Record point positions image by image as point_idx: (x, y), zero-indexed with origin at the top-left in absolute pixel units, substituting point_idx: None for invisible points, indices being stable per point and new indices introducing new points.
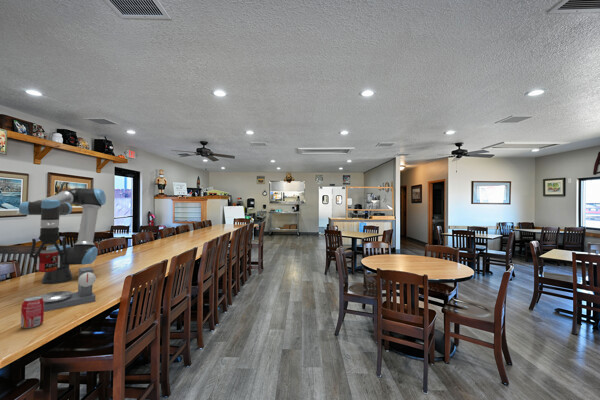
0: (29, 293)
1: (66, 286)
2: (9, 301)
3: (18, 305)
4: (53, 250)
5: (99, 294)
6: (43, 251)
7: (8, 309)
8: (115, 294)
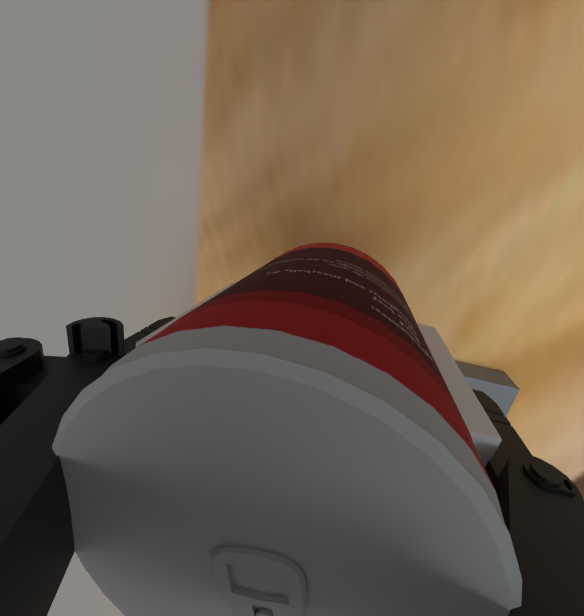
0: (312, 42)
1: (546, 18)
2: (215, 160)
3: (235, 271)
4: (405, 524)
5: (534, 405)
6: (147, 453)
7: (204, 297)
8: (577, 468)
